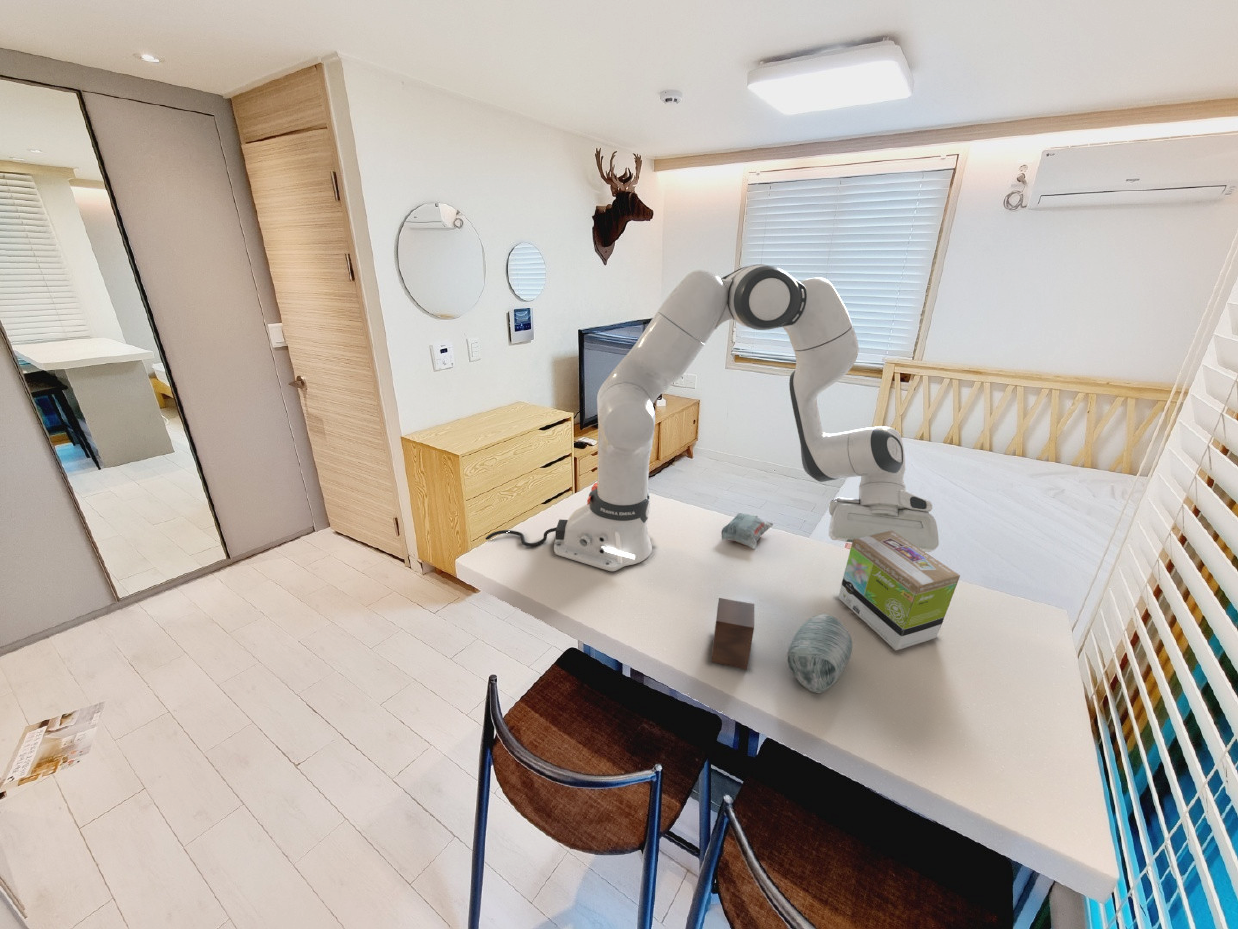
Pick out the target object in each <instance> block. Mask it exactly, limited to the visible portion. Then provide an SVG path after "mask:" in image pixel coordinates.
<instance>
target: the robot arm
mask: <svg viewBox="0 0 1238 929" xmlns="http://www.w3.org/2000/svg"><path fill="white" fill-rule="evenodd" d="M730 320H734V321H735V322H737V323H738V324H740V325H742V326H744V327H746V328H750V329H752V330H756V331H769V330H774V329H778V328H782V329H783V330H784V331H785V333H786V335H787V336H788V338H789V342H790V344H791V347H792V349H793V352H794V356H795V369H794V370H793V372H791V374H790V376H789V383H788V384H789V394H790V395H789V396H790V401H791V406H792V412H793V415H794V421H795V425H796V430H797V433H798V439H799V444H800V445H799V446H800V455H801V456H800V457H801V463H802V468H803V470H804V471H805V473H806V474H807V475H808V476H810V477H811V478H812V479H814V480H815V481H817V482H820V483H825V482H830V481H836V480H839V479H845V478H846V479H847V478H855V477H856V478H857V477H860V482H859V485H858V498H847V497H846V498H845V497H840V496H839V497H836V498H834V499H832V500H831V501H830V502H829V504H828V507H829V508H828V513H829V515H830V521H829V527H828V536H829V537H830V539H831V540H832V541H838V542H845V543H851V544H852V542H853V539H857V538H862V537H866V536H871V535H875V534H879V533H883V532H887V531H891V530H892V531H894V532H895V533H897V534H898V535H900V536H901V537H903V538H904V539H906V540H907V541H909V542H910V543H912V544H913V545H915V546H916V547H918V548H919V549H921V550H922V551H924V552H925V553H931V552H933V551H935V550H936V549H937V548H938V547H939V544H940V542H939V540H940V539H939V532H938V531H939V529H938V525H937V521H936V519H935V517H934V516H933V515H932V514H931V511H932V510H933V503H932V502H931V501H929V500H927V499H925V498H922V497H920V496H917V495H914V494H912V493H910V492H908V491H906V490H907V488H906V483H905V480H904V476H905V473H906V457H905V456H906V455H905V448H904V442H903V438H902V435H901V434H900V432H899V431H898V430H897V429H896V428H893V427H891V426H884V425H879V426H873V427H865V428H859V429H853V430H849V431H843V432H836V433H826V432H825V431H824V430H823V428H822V422H821V417H820V412H819V407H818V396H819V395H820V394H821V393H822V392H824V391H826V390H827V389H828V388H829V387H831V386H833V385H834V384H835V383H837V382H839V381H840V380H841V379H842V378H843V377H845V376H846V375H847V373H849V371H850V370H851V369H852V368H853V366H855V363H856V362H857V359H858V356H859V353H860V352H859V350H860V348H859V342H858V338H857V334H856V331H855V328H854V325H853V322H852V320H851V317H850V315H849V312H848V310H847V307H846V306H845V304H844V302H843V300H842V298H841V297H840V295H839V293H838V291H837V290H836V288H835V286H834V285H833V284H832V282H831V281H829V280H828V279H826V278H824V277H810V278H806V279H803V280H801V281H799V280H798V279H796V278H795V277H793V275H791V274H789V273H788V272H787V271H785V270H784V269H782V268H780V267H777V266H774V265H767V264H762V263H760V264H758V263H757V264H751V265H748V266H744V267H741V268H738V269H735V270H734V271H732V272H731V273H729V274H726V275H725V276H723V277H720V276H719V275H717V274H716V273H714V272H712V271H709V270H705V269H696V270H692V271H691V272H689V273H688V274H687V275H686V276H685V277H684V278H683V279H682V280H681V281H680V282H679V283H678V284H677V285H676V286H675V288H674V289H673V290H672V291H671V293H670V294H669V295H668V296H667V297H666V299H665V300H664V301H663V303H662V304H661V306H660V307H659V308H658V309H657V311H656V312H655V314H654V316H653V317H652V319H651V320H650V322H649V323H648V325H647V326H646V328H645V329H644V330H643V332H642V333H641V335H640V337H639V338H638V340H637V341H636V342H635V344H634V345H633V346H632V348H631V349H630V350H629V351H628V353H626V354H625V356H624V357H623V358H622V359H621V360H620V362H619V363H618V364H617V365H616V366H615V368H614V369H613V370H612V371H611V373H610V374H609V375H608V377H607V378H606V379H605V380H604V382H602V384H601V385H600V387H599V389H598V391H597V394H596V395H597V396H596V406H597V408H596V409H597V424H598V425H597V460H596V462H597V468H596V470H597V471H596V472H597V473H596V475H597V482H595V483H594V484H593V485H592V487H591V491H590V492H589V493H588V498H587V499H586V502H587V503H586V504H585V505H582V506H581V507H579V508H577V509H576V510H574V512H573V513H572V514H571V515H570V516H569V517H568V519H560V518H559V519H558V522H557V525H556V527H552V528H549V529H547V530H545V531H544V533H543V537H542V539H540V540H538V541H536V542H526V541H525V536H524V534H523V533H522V532H521V531H517V530H512V529H502V530H497V531H493V532H492V533H489V534H488V535H486V537H485V538H484V540H490V539H491V538H493V537H495V536H497V535H503V534H504V535H505V534H506V535H507V534H510V535H516V536H519V537H520V542H521V545H523V546H525V547H529V548H530V547H532V548H533V547H538V546H540V545H542V544H544V543H545V542H546V541H547V539H548V535H549V534H551V533H553V532H555V533H554V534H555V540H554V543H553V551H554V552H553V553H554V554H555V555H557V556H559V557H562V558H566V559H568V560H572V561H575V562H579V563H582V564H584V565H588V566H592V567H595V568H598V569H602V570H603V571H604V570H605V571H608V572H616V571H618V570H621V569H622V568H624V567H628V566H632V565H635V564H639V563H641V562H643V561H645V560H646V559H648V558H649V557H650V556H651V554H652V552H653V545H652V541H651V537H650V532H649V523H648V522H649V521H648V519H649V517H650V509H651V508H650V507H651V506H650V505H651V503H650V502H651V500H650V492H649V475H650V460H651V454H652V450H653V443H654V437H655V436H654V435H655V428H656V411H655V408H654V403H655V401H657V399H658V398H659V397H660V396H661V395H662V394H663V393H664V392H665V390H667V389H668V388H669V387H670V386H671V385H672V384H673V383H675V382H677V381H678V380H680V379H681V377H683V375H684V374H685V372H687V371H688V369H689V367H690V366H691V364H692V363H693V361H694V360H695V359H696V357H697V356H698V355H699V353H700V352H701V350H702V349H703V348H704V346H705V345H706V344H707V342H708V340H710V338H711V336H712V334H713V333H714V331H715V330H717V329H718V327H720V326H721V325H722V324H723V323H726V322H727V321H730ZM508 531H510V532H508ZM506 532H508V533H506Z"/></svg>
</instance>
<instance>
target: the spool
mask: <svg viewBox="0 0 1238 929" xmlns="http://www.w3.org/2000/svg"><path fill="white" fill-rule="evenodd" d="M853 644H854V643H853V640H852V636H851V634H850V632H849V631H848V629H847V628H846V626H845V625H844V624H843V623H842V622H841V621H840V620H839V619H837V618H836V617H834V616H832V615H830V614H827V613H824V614H823V613H822V614H817V615H815V616H813V617H810V618H809V619H808V620H807V621H805V623H803V624H802V626H801V627H799V629H798V630H797V631H796V633H795V634H794V636H793V637H792V640H791V642H790V644H789V647H788V649H787V655H786V656H787V657H786V660H787V664H788V666H789V669H790V671H791V672H792V675H793V676H794V677H795V679H796V680H797V681H798V683H799V684H800V685H802V686H803V687H804V688H805V689H806V690H808V691H810V692H813V693H818V694H819V693H820V694H821V693H823V692H824V691H826V690H828V689H829V688H830V687H832V686H833V685H834V684H835V683H836V681H838V679H839V677H840V676H841V675H842V674H843V672H844V670H845V668H846V666H847V665H848V663H849V661H850V659H851V657H852V653H853V650H854V649H853V648H854V645H853Z"/></svg>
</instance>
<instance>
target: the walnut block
mask: <svg viewBox="0 0 1238 929" xmlns="http://www.w3.org/2000/svg"><path fill="white" fill-rule="evenodd" d="M717 601H718V603H717V610H716V616H715V625H714V633H713V640H712V641H713V642H712V650H711V657H710V658H711V660H710V662H711V663H715V664H719V665H723V666H728V667H733V668H739V669H742V670H748V667H749V662H750V654H751V650H752V643H753V637H754V632H755V603H752V602H746V601H740V600H733V599H729V598H722V597H719V598H718V600H717Z"/></svg>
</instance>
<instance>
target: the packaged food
mask: <svg viewBox="0 0 1238 929" xmlns="http://www.w3.org/2000/svg"><path fill="white" fill-rule="evenodd" d="M773 526H774V523H773V522H771V521H769V522H768V521H766V520H764V519H761V518H760V517H758V515H755V514H748V513H742V512H739V513H737V514H736V515H735V516H734V518H732V520H731V521H730V522H729V523H728V524H726V525H725V526H724V527H723V528H722V529H721V540H723V541H725V540H728V541H732V542H735V543H738V544H741V545H743V546H747V547H749V548H750V549H752V550H756V549H757V544H758V541H759V539H760V538H761V537H762V535H764V534H765V533H766V532H767V531H768V530H769V529H770V528H772V527H773Z"/></svg>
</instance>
